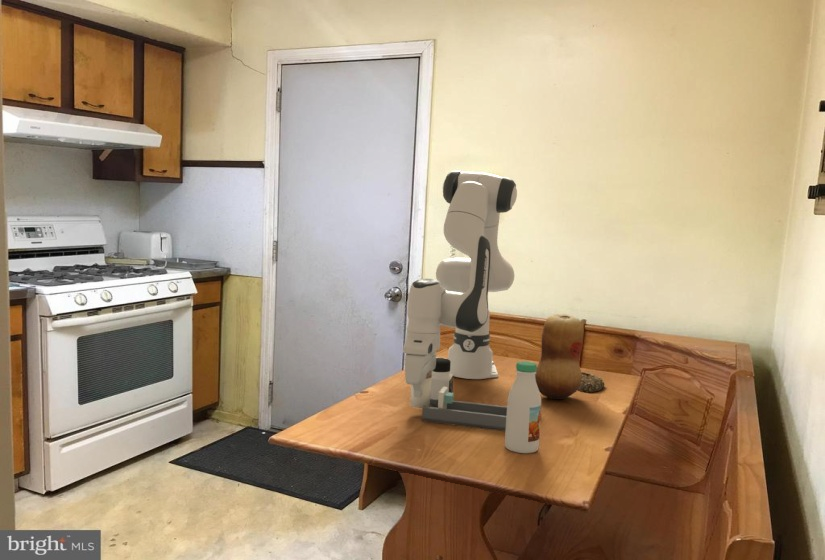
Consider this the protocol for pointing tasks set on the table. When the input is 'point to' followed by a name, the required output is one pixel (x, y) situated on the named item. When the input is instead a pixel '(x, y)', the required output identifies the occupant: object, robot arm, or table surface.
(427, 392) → the jar
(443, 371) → the medicine bottle
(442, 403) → the pusher
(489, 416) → the lane
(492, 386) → the table surface
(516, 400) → the milk bottle
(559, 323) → the butternut squash
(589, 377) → the grey speckled flat mound
